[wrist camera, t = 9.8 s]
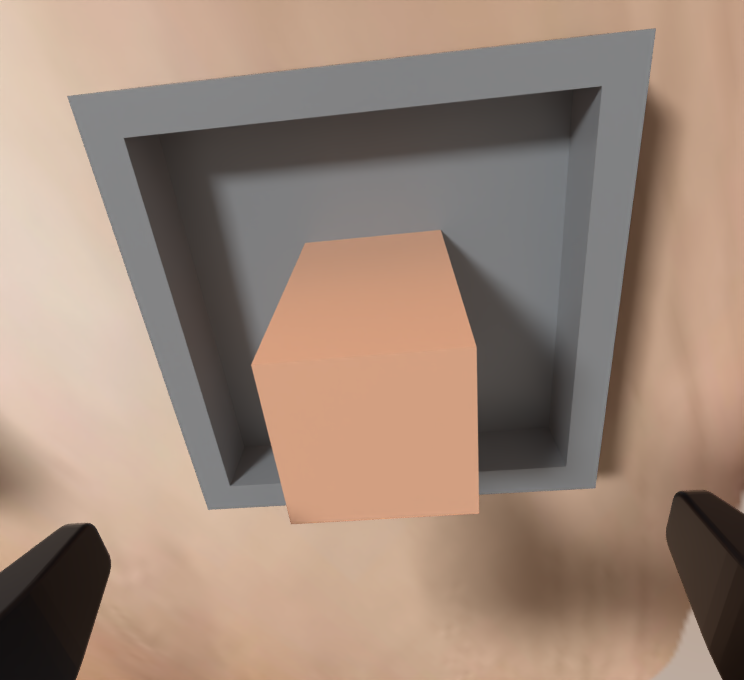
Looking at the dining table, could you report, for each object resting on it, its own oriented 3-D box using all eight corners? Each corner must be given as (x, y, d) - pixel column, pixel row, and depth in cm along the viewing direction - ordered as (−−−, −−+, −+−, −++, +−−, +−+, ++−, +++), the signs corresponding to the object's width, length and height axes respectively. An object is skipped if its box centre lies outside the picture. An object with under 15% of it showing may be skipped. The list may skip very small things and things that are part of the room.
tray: (567, 430, 20) (595, 488, 17) (231, 451, 21) (208, 509, 18) (604, 34, 14) (656, 28, 11) (124, 89, 15) (67, 96, 12)
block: (446, 349, 17) (479, 513, 11) (325, 359, 17) (291, 524, 11) (440, 229, 15) (477, 346, 9) (305, 242, 16) (251, 364, 9)
